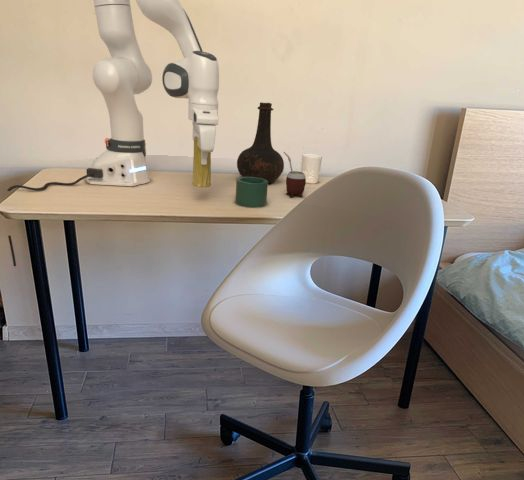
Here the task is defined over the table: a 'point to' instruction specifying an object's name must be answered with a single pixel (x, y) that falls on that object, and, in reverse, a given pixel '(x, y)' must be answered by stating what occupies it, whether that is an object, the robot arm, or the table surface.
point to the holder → (251, 191)
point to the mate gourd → (295, 182)
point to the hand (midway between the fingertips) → (202, 161)
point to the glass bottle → (261, 151)
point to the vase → (201, 168)
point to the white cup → (311, 167)
